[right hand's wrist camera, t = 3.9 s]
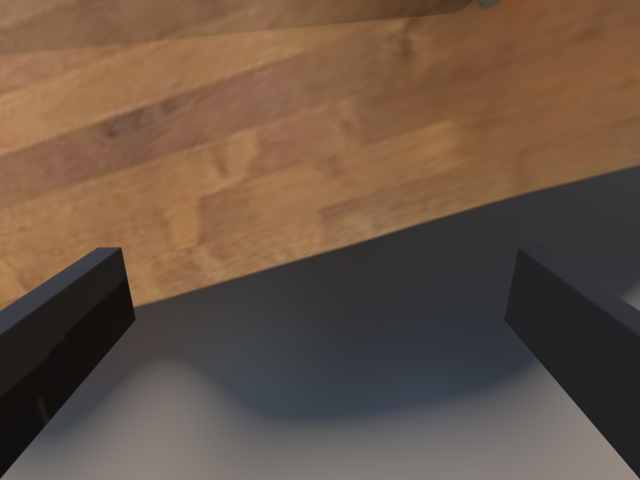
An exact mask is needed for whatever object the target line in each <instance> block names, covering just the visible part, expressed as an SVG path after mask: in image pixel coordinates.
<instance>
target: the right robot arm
mask: <svg viewBox="0 0 640 480" xmlns="http://www.w3.org/2000/svg"><path fill="white" fill-rule="evenodd" d="M134 321H135V314H134V309H133V304H132V299H131V294H130V289H129V284H128V279H127V274H126V269H125V264H124V259H123V254H122V249H121V248H97V249H95V250H93V251H92V252H90V253H89V254H87V255H86V256H84V257H83V258H81V259H80V260H78V261H77V262H75V263H74V264H72V265H70V266H69V267H67V268H66V269H64V270H63V271H61V272H60V273H58V274H57V275H55V276H54V277H52V278H50V279H49V280H47V281H46V282H44V283H43V284H41V285H40V286H38V287H37V288H35V289H34V290H32V291H30V292H29V293H27V294H26V295H24V296H23V297H21V298H20V299H18V300H17V301H15V302H14V303H12V304H11V305H9V306H7V307H6V308H4V309H3V310H1V311H0V478H1V477H2V476H3V475H4V474H5V473H6V471H7V470H8V469H9V468H10V467H11V465H12V464H13V463H14V462H15V461H16V460H17V458H18V457H19V456H20V455H21V454H22V453H23V451H24V450H25V449H26V448H27V447H28V446H29V444H30V443H31V442H32V441H33V440H34V438H35V437H36V436H37V435H38V434H39V433H40V431H41V430H42V429H43V428H44V427H45V426H46V424H47V423H48V422H49V421H50V420H51V418H52V417H53V416H54V415H55V414H56V413H57V411H58V410H59V409H60V408H61V407H62V405H63V404H64V403H65V402H66V401H67V400H68V399H69V397H70V396H71V395H72V394H73V393H74V391H75V390H76V389H77V388H78V387H79V386H80V384H81V383H82V382H83V381H84V380H85V379H86V377H87V376H88V375H89V374H90V373H91V372H92V370H93V369H94V368H95V367H96V366H97V364H98V363H99V362H100V361H101V360H102V359H103V357H104V356H105V355H106V354H107V353H108V352H109V350H110V349H111V348H112V347H113V346H114V344H115V343H116V342H117V341H118V340H119V339H120V337H121V336H122V335H123V334H124V333H125V332H126V330H127V329H128V328H129V327H130V326H131V324H132V323H133V322H134ZM505 321H506V322H507V323H508V325H509V326H510V327H511V328H512V329H513V330H514V332H515V333H516V334H517V335H518V336H519V337H520V339H521V340H522V341H523V342H524V343H525V344H526V346H527V347H528V348H529V349H530V350H531V352H532V353H533V354H534V355H535V356H536V357H537V359H538V360H539V361H540V362H541V363H542V364H543V366H544V367H545V368H546V369H547V370H548V372H549V373H550V374H551V375H552V376H553V377H554V379H555V380H556V381H557V382H558V383H559V384H560V386H561V387H562V388H563V389H564V390H565V391H566V393H567V394H568V395H569V396H570V397H571V399H572V400H573V401H574V402H575V403H576V404H577V406H578V407H579V408H580V409H581V410H582V411H583V413H584V414H585V415H586V416H587V417H588V418H589V420H590V421H591V422H592V423H593V424H594V426H595V427H596V428H597V429H598V430H599V431H600V433H601V434H602V435H603V436H604V437H605V438H606V440H607V441H608V442H609V443H610V444H611V446H612V447H613V448H614V449H615V450H616V451H617V453H618V454H619V455H620V456H621V457H622V458H623V460H624V461H625V462H626V463H627V464H628V465H629V467H630V468H631V469H632V470H633V471H634V472H635V474H636V475H637V476H638V477H639V478H640V311H639V310H637V309H636V308H634V307H633V306H631V305H629V304H628V303H626V302H625V301H623V300H622V299H620V298H619V297H617V296H616V295H614V294H613V293H611V292H609V291H608V290H606V289H605V288H603V287H602V286H600V285H599V284H597V283H596V282H594V281H593V280H591V279H590V278H588V277H586V276H585V275H583V274H582V273H580V272H579V271H577V270H576V269H574V268H573V267H571V266H569V265H568V264H566V263H565V262H563V261H562V260H560V259H559V258H557V257H556V256H554V255H553V254H551V253H550V252H548V251H547V250H545V249H543V248H519V249H518V254H517V259H516V264H515V269H514V274H513V279H512V284H511V289H510V294H509V299H508V304H507V309H506V314H505Z"/></svg>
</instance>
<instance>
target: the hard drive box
mask: <svg viewBox="0 0 640 480" xmlns="http://www.w3.org/2000/svg"><path fill="white" fill-rule="evenodd" d="M500 1H502V0H479V2H480V4H481V5H482V7H483V8H484V9H486V8H488V7H490V6H492V5H494V4H496V3H498V2H500Z"/></svg>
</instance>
